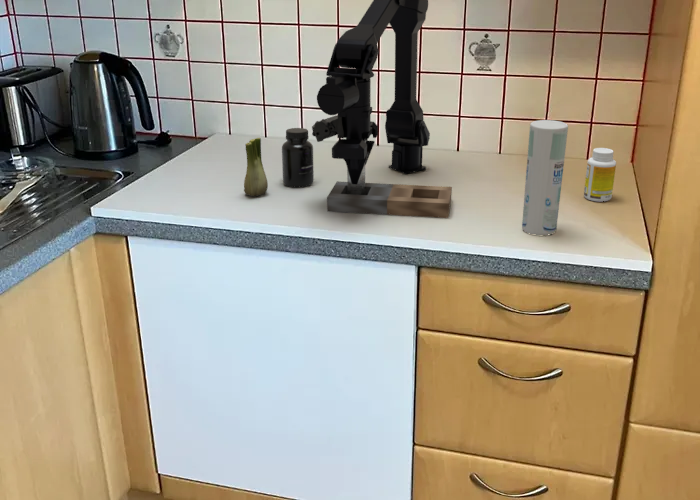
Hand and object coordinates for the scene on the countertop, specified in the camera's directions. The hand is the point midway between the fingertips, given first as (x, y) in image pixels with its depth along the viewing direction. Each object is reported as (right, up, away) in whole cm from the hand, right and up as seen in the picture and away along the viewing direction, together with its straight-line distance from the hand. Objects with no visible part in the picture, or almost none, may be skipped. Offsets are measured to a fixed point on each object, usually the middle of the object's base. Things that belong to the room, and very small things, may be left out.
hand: (356, 180), depth 152 cm
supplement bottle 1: (-13, +1, +15) cm, 19 cm away
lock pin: (0, -4, +2) cm, 4 cm away
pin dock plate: (+7, -5, +1) cm, 9 cm away
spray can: (+34, -10, -12) cm, 37 cm away
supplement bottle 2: (+50, -3, +4) cm, 50 cm away
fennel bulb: (-21, -2, +8) cm, 23 cm away
